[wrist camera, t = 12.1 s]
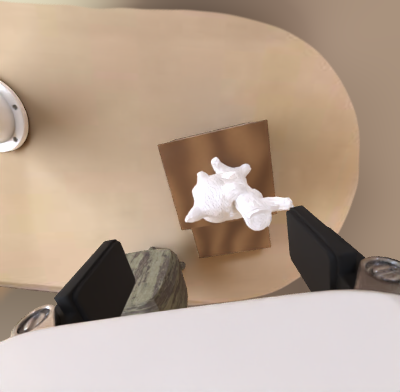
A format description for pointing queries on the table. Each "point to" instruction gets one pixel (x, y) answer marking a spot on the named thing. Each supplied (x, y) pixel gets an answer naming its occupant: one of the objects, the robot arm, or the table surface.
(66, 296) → the robot arm
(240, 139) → the step shelf
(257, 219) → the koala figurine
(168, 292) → the spike-topped wooden block
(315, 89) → the table surface
